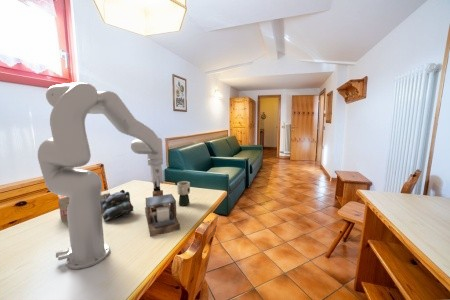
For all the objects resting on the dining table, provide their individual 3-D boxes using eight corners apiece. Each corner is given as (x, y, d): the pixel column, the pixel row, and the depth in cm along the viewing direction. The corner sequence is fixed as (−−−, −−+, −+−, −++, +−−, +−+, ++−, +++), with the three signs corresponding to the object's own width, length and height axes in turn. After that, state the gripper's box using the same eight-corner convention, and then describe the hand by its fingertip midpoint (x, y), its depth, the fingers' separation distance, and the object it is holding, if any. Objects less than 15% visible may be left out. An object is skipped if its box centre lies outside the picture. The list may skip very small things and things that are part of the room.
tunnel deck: (150, 236, 82) (148, 212, 80) (145, 211, 105) (144, 192, 104) (180, 229, 87) (179, 206, 86) (169, 207, 111) (168, 188, 109)
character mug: (190, 207, 110) (189, 185, 108) (177, 208, 109) (176, 186, 107) (190, 200, 121) (189, 179, 119) (178, 201, 120) (177, 180, 118)
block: (158, 224, 87) (157, 211, 86) (156, 219, 91) (155, 207, 90) (169, 222, 89) (169, 209, 88) (167, 217, 93) (167, 205, 93)
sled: (154, 228, 83) (153, 207, 82) (149, 209, 102) (148, 191, 100) (174, 223, 87) (174, 203, 86) (166, 206, 105) (166, 189, 104)
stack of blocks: (108, 205, 113) (106, 185, 112) (111, 209, 109) (109, 187, 107) (60, 218, 98) (57, 194, 97) (61, 222, 94) (58, 198, 92)
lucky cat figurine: (97, 223, 92) (92, 195, 96) (111, 221, 104) (106, 196, 107) (128, 213, 94) (123, 185, 97) (139, 212, 106) (133, 187, 109)
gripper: (165, 163, 97) (166, 198, 100) (160, 158, 111) (162, 189, 113) (149, 164, 94) (151, 201, 96) (146, 159, 107) (148, 191, 110)
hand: (157, 195), depth 105 cm, fingers closed
